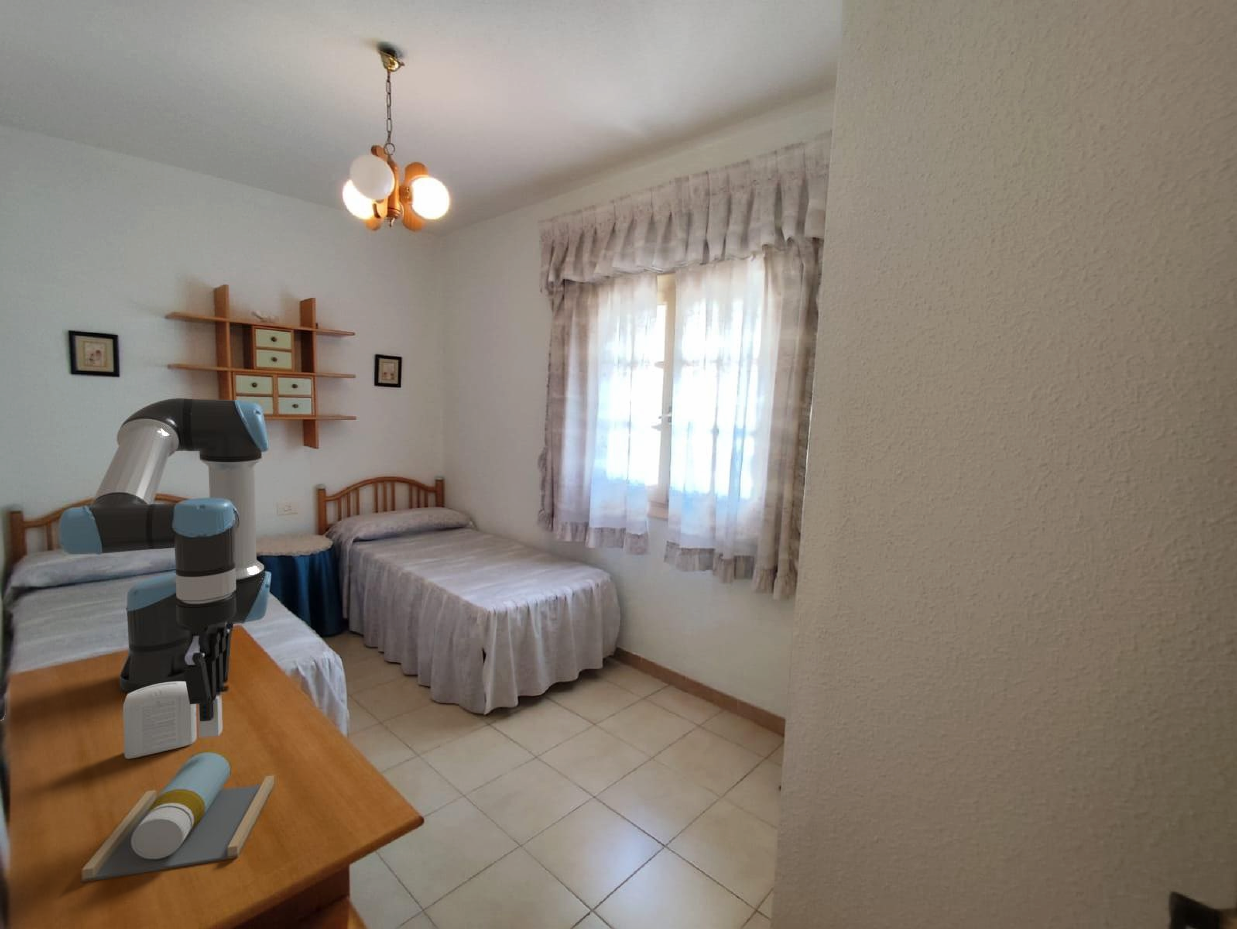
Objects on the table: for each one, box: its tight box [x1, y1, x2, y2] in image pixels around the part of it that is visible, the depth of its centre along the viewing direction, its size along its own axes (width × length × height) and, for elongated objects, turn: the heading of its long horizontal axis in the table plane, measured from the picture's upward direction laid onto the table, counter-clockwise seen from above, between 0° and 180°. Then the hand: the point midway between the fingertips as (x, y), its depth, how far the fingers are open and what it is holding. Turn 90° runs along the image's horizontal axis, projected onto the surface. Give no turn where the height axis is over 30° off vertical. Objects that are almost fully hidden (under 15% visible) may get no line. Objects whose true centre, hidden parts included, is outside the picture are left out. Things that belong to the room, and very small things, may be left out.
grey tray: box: [81, 775, 275, 883], centre depth 80 cm, size 15×18×2 cm
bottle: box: [131, 749, 233, 859], centre depth 81 cm, size 7×7×15 cm
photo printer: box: [122, 681, 197, 760], centre depth 98 cm, size 10×4×12 cm, turn 123°
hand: (210, 734), depth 87 cm, fingers closed
